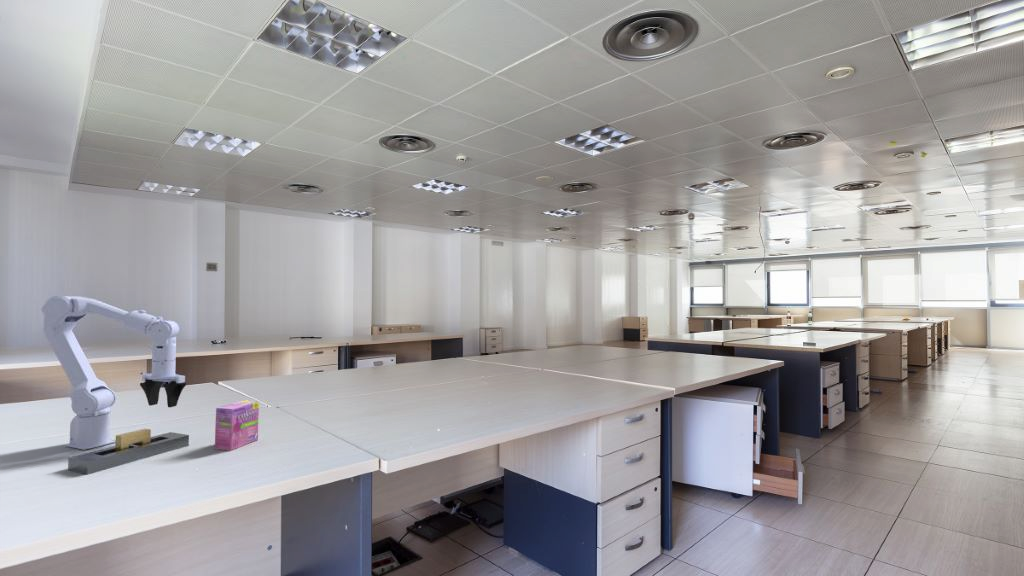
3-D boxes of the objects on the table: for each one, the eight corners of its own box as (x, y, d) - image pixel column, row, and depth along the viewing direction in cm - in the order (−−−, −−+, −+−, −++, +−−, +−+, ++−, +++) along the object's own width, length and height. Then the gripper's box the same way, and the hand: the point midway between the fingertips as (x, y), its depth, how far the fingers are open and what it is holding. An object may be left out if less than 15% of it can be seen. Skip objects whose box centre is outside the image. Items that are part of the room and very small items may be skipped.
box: (231, 451, 128) (232, 408, 129) (214, 449, 129) (215, 407, 130) (258, 440, 138) (259, 400, 139) (242, 438, 140) (243, 399, 140)
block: (68, 469, 113) (68, 457, 113) (170, 442, 136) (170, 432, 136) (87, 474, 110) (87, 461, 110) (188, 445, 133) (188, 435, 133)
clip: (114, 458, 120) (115, 435, 120) (144, 450, 127) (145, 428, 127) (120, 459, 119) (121, 436, 119) (150, 451, 126) (150, 429, 126)
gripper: (132, 361, 136) (130, 407, 135) (169, 363, 132) (167, 410, 132) (156, 358, 143) (154, 402, 142) (192, 360, 139) (190, 405, 138)
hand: (162, 405), depth 137 cm, fingers open, 7 cm apart
